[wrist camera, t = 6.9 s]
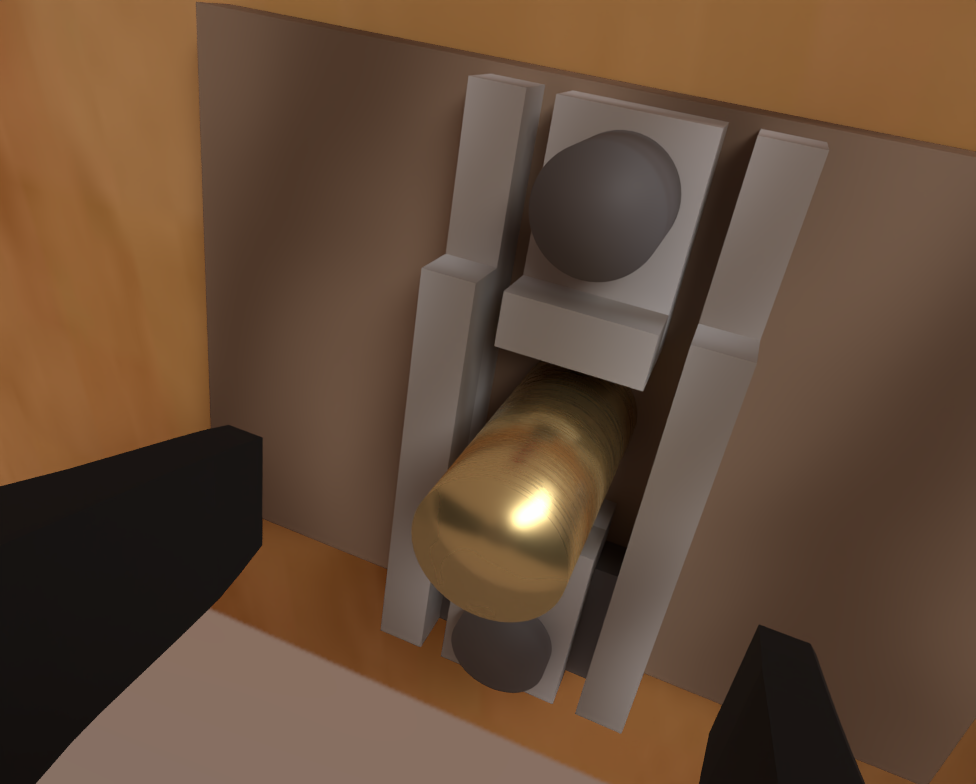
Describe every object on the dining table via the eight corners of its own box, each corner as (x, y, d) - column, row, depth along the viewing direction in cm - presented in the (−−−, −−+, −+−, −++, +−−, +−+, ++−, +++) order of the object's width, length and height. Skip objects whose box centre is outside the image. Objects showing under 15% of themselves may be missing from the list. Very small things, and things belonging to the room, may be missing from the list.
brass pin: (658, 438, 14) (600, 602, 10) (556, 475, 16) (465, 636, 11) (599, 332, 14) (511, 458, 10) (499, 379, 15) (382, 509, 11)
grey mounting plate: (1282, 212, 10) (1473, 278, 7) (919, 748, 16) (946, 905, 13) (229, 4, 15) (89, -6, 12) (237, 480, 21) (143, 552, 18)
